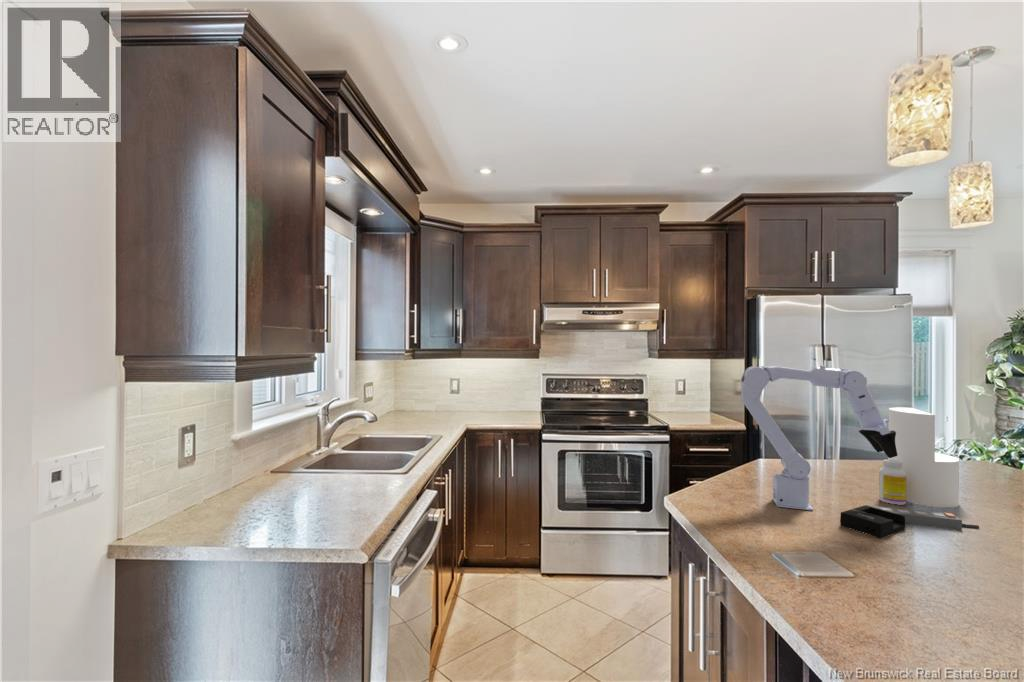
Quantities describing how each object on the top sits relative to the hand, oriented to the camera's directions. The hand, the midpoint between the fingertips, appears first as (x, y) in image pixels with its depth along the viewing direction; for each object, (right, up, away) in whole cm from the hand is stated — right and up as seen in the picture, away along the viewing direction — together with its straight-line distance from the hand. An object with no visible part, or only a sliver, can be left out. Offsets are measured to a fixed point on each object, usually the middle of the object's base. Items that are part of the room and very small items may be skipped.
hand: (887, 453), depth 136 cm
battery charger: (-11, -18, -9) cm, 23 cm away
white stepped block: (+24, -18, +16) cm, 34 cm away
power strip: (+6, -18, -5) cm, 20 cm away
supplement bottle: (+11, -18, +12) cm, 24 cm away
